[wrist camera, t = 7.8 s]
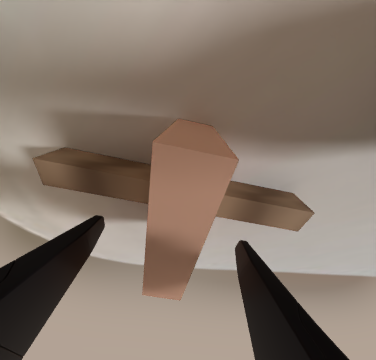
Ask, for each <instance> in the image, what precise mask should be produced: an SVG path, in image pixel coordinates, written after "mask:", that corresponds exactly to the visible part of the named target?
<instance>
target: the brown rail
mask: <svg viewBox="0 0 376 360" xmlns="http://www.w3.org/2000/svg"><path fill="white" fill-rule="evenodd" d="M33 161H34V163H35V166H36V168H37V170H38V173H39V175H40V178H41V180H42V183H43V185H48V186H53V187H59V188H64V189H70V190H75V191H80V192H86V193H91V194H97V195H102V196H108V197H113V198H119V199H124V200H129V201H135V202H140V203H146V204H148V203H149V188H150V173H151V165H150V164H145V163H140V162H135V161H130V160H125V159H120V158H115V157H110V156H105V155H100V154H95V153H90V152H85V151H80V150H75V149H70V148H62V149H59V150H56V151H53V152H50V153H47V154H44V155H41V156H38V157H35V158H33ZM313 214H314V212H313V211H312V210H311V209H310V208H309V207H308V206H307V205H306V204H304V203H303V202H302V201H301V200H300V199H299V198H298V197H297V196H296V195H295V194H293V193H289V192H284V191H279V190H274V189H269V188H264V187H259V186H254V185H249V184H244V183H239V182H234V181H230V183H229V185H228V187H227V190H226V192H225V195H224V197H223V199H222V202H221V204H220V207H219V209H218V211H217V214H216V216H217V217H222V218H228V219H233V220H238V221H244V222H249V223H255V224H260V225H266V226H271V227H277V228H282V229H287V230H293V231H299V230H300V229H301V227H302V226H303V225H304V224H305V223H306V222H307V221H308V220H309V219H310V218H311V216H312V215H313Z"/></svg>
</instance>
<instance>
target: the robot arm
mask: <svg viewBox="0 0 376 360" xmlns="http://www.w3.org/2000/svg"><path fill="white" fill-rule="evenodd" d="M104 227H105V223H104V217H103V216H99V215H96V216H94V217H92V218H90V219H88V220H86V221H84V222H83V223H81V224H79V225H77V226H75V227H74V228H72V229H70V230H68V231H66V232H65V233H63V234H61V235H59V236H57V237H56V238H54V239H52V240H50V241H48V242H47V243H45V244H43V245H41V246H39V247H37V248H36V249H34V250H32V251H30V252H28V253H27V254H25V255H23V256H21V257H19V258H18V259H16V260H14V261H12V262H10V263H9V264H7V265H5V266H3V267H1V268H0V360H22V358H23V356H24V355H25V353H26V352H27V351H28V349H29V347H30V346H31V344H32V343H33V341H34V340H35V338H36V337H37V335H38V334H39V332H40V331H41V329H42V327H43V326H44V325H45V323H46V321H47V320H48V318H49V317H50V315H51V314H52V312H53V311H54V309H55V308H56V306H57V305H58V303H59V301H60V300H61V298H62V297H63V295H64V294H65V292H66V291H67V289H68V288H69V286H70V285H71V283H72V282H73V280H74V278H75V277H76V275H77V274H78V272H79V271H80V269H81V268H82V266H83V265H84V263H85V262H86V260H87V259H88V257H89V256H90V254H91V252H92V250H93V249H94V247H95V245H96V243H97V241H98V239H99V237H100V235H101V233H102V231H103V229H104ZM235 255H236V264H237V273H238V279H239V284H240V289H241V293H242V298H243V303H244V308H245V313H246V317H247V322H248V327H249V332H250V337H251V342H252V347H253V352H254V357H255V360H349V359H348V358H347V356H346V355H345V354H344V353H343V352H342V351H341V350H340V349H339V348H338V347H337V346H336V345H335V344H334V342H333V341H332V340H331V339H330V338H329V337H328V336H327V335H326V334H325V333H324V332H323V331H322V329H321V328H320V327H319V326H318V325H317V324H316V323H315V322H314V320H313V319H312V318H311V317H310V316H309V315H308V314H307V312H306V311H305V310H304V309H303V308H302V306H301V305H300V304H299V303H298V302H297V301H296V299H295V298H294V297H293V296H292V295H291V293H290V292H289V291H288V290H287V289H286V287H285V286H284V285H283V284H282V283H281V282H280V280H279V279H278V278H277V277H276V276H275V274H274V273H273V272H272V271H271V270H270V268H269V267H268V266H267V265H266V264H265V262H264V261H263V260H262V259H261V258H260V257H259V255H258V254H257V253H256V252H255V251H254V249H253V248H252V247H251V246H250V245H249V243H248V242H247V241H243V240H240V241H239V242H238V244H237V246H236V248H235Z"/></svg>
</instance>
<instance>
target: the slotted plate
mask: <svg viewBox="0 0 376 360" xmlns="http://www.w3.org/2000/svg"><path fill="white" fill-rule="evenodd" d="M238 161H239V159H238V158H237V157H236V156H235V154H234V153H233V152H232V150H231V149H230V148H229V147H228V145H227V144H226V143H225V141H224V140H223V139H222V138H221V136H220V135H219V134H218V132H217V131H216V130H215V129H214V127H213V126H209V125H205V124H200V123H196V122H191V121H187V120H183V119H177V120H176V121H175V122H174V123H173V124H172V125H171V126H170V127H168V128H167V129H166V130H165V131H164V132H163V133H162V134H161V135H160V136H158V137H157V138H156V139H155V140H154V141H153V143H152V158H151V173H150V188H149V203H148V218H147V233H146V248H145V263H144V278H143V294H142V295H146V296H153V297H160V298H167V299H174V300H181V298H182V295H183V293H184V291H185V288H186V286H187V283H188V281H189V279H190V276H191V274H192V271H193V269H194V267H195V264H196V262H197V259H198V257H199V255H200V252H201V250H202V247H203V245H204V243H205V240H206V238H207V235H208V233H209V231H210V228H211V226H212V223H213V221H214V219H215V216H216V214H217V211H218V209H219V207H220V204H221V202H222V199H223V197H224V195H225V192H226V190H227V187H228V185H229V183H230V180H231V178H232V175H233V173H234V171H235V168H236V166H237V163H238Z"/></svg>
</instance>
